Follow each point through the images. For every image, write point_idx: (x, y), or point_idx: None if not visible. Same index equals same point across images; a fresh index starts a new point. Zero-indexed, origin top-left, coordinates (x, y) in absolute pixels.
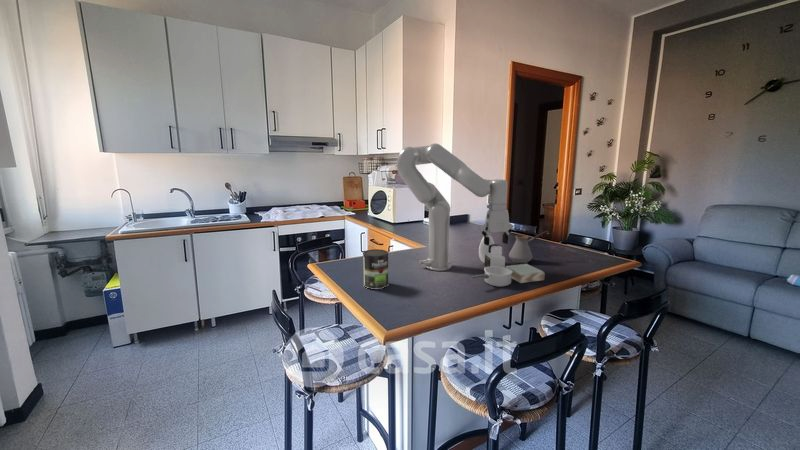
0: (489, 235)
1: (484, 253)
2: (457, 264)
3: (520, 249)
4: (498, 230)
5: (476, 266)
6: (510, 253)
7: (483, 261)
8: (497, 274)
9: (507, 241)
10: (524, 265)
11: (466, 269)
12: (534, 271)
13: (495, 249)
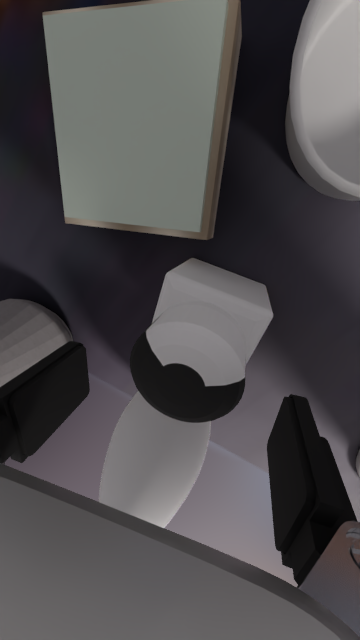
0: None
1: None
2: None
3: (5, 346)
4: (98, 600)
5: (251, 380)
6: None
7: None
8: (312, 180)
9: (57, 351)
10: (89, 192)
11: (332, 376)
12: (98, 34)
13: (225, 334)
